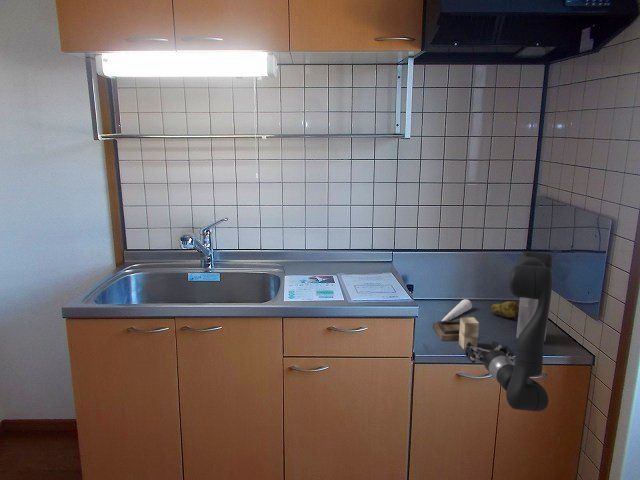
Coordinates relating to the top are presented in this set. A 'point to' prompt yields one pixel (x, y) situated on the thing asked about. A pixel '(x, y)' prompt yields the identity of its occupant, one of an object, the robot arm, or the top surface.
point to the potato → (506, 309)
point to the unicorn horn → (458, 310)
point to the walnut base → (447, 330)
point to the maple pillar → (468, 332)
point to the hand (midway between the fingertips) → (480, 344)
